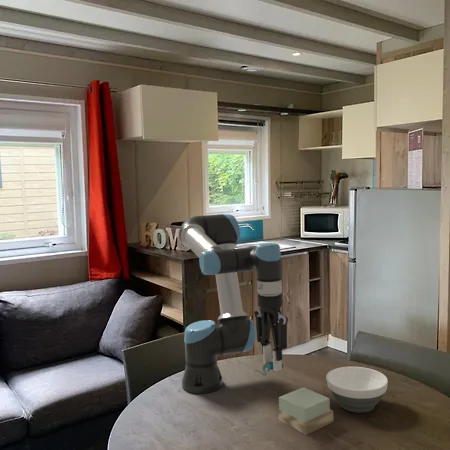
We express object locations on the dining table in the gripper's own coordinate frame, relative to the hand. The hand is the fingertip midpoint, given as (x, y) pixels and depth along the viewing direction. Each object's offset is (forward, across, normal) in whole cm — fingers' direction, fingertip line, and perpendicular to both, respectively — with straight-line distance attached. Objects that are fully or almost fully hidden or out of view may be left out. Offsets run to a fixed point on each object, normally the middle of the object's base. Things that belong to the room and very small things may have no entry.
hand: (272, 367), depth 150 cm
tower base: (+18, +6, +8) cm, 20 cm away
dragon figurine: (+1, 0, -1) cm, 1 cm away
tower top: (+14, +6, +7) cm, 17 cm away
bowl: (+17, +9, +28) cm, 34 cm away
